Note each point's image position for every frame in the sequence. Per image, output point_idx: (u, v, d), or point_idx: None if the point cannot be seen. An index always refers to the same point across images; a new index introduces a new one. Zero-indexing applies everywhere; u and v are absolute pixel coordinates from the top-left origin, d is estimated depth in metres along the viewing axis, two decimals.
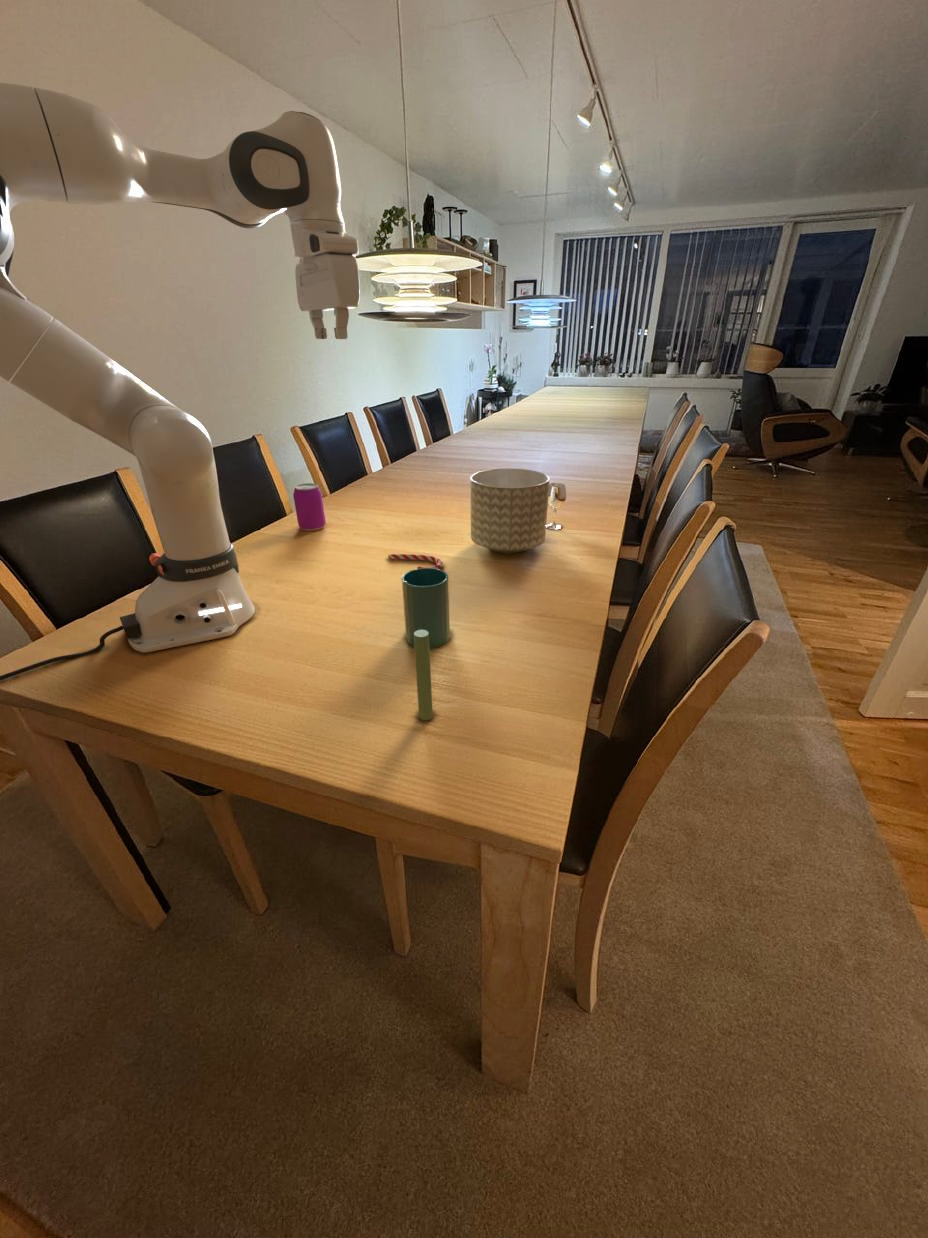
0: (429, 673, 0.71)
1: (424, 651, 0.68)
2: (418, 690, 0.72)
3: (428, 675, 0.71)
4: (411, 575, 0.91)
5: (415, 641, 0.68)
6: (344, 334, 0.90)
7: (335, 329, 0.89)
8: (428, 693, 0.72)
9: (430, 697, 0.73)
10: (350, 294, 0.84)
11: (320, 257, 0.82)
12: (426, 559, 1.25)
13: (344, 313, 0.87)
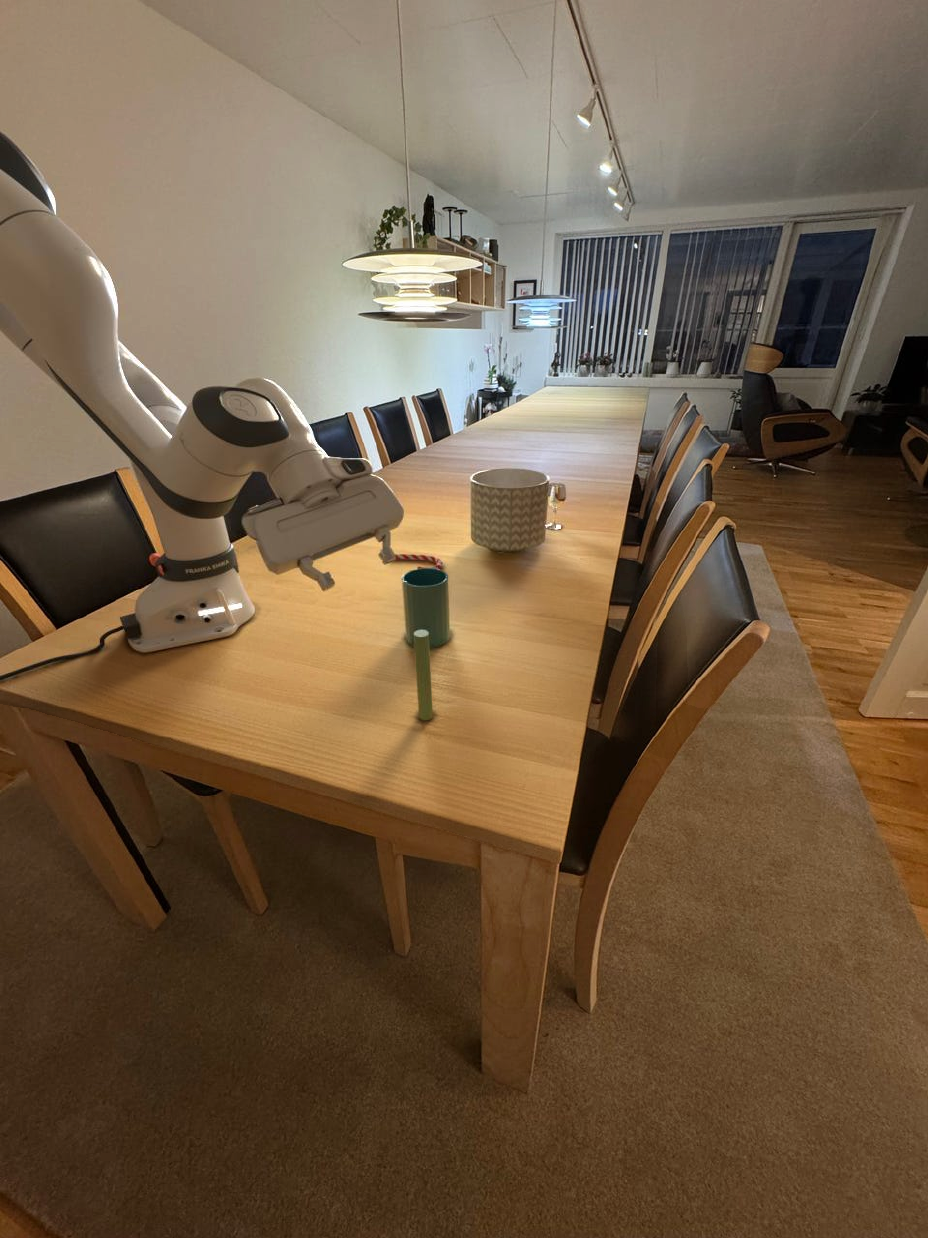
0: (429, 673, 0.71)
1: (424, 651, 0.68)
2: (418, 690, 0.72)
3: (428, 675, 0.71)
4: (411, 575, 0.91)
5: (415, 641, 0.68)
6: None
7: (386, 549, 0.70)
8: (428, 693, 0.72)
9: (430, 697, 0.73)
10: None
11: (361, 478, 0.71)
12: (426, 559, 1.25)
13: None
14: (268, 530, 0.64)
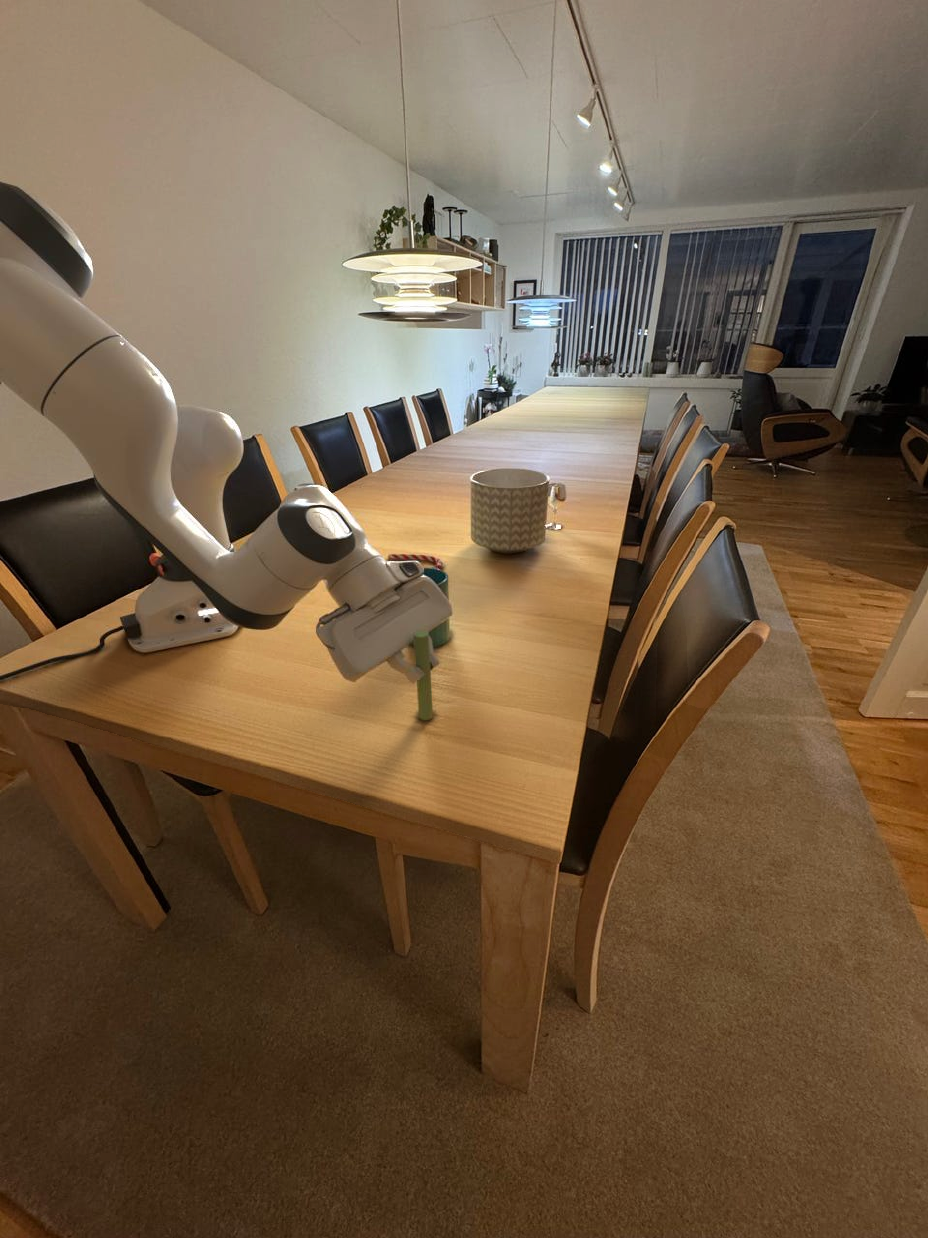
0: (429, 673, 0.71)
1: (424, 651, 0.68)
2: (418, 690, 0.72)
3: (428, 675, 0.71)
4: None
5: (415, 641, 0.68)
6: None
7: (431, 657, 0.71)
8: (428, 693, 0.72)
9: (430, 697, 0.73)
10: None
11: (416, 580, 0.73)
12: (426, 559, 1.25)
13: None
14: (348, 639, 0.64)
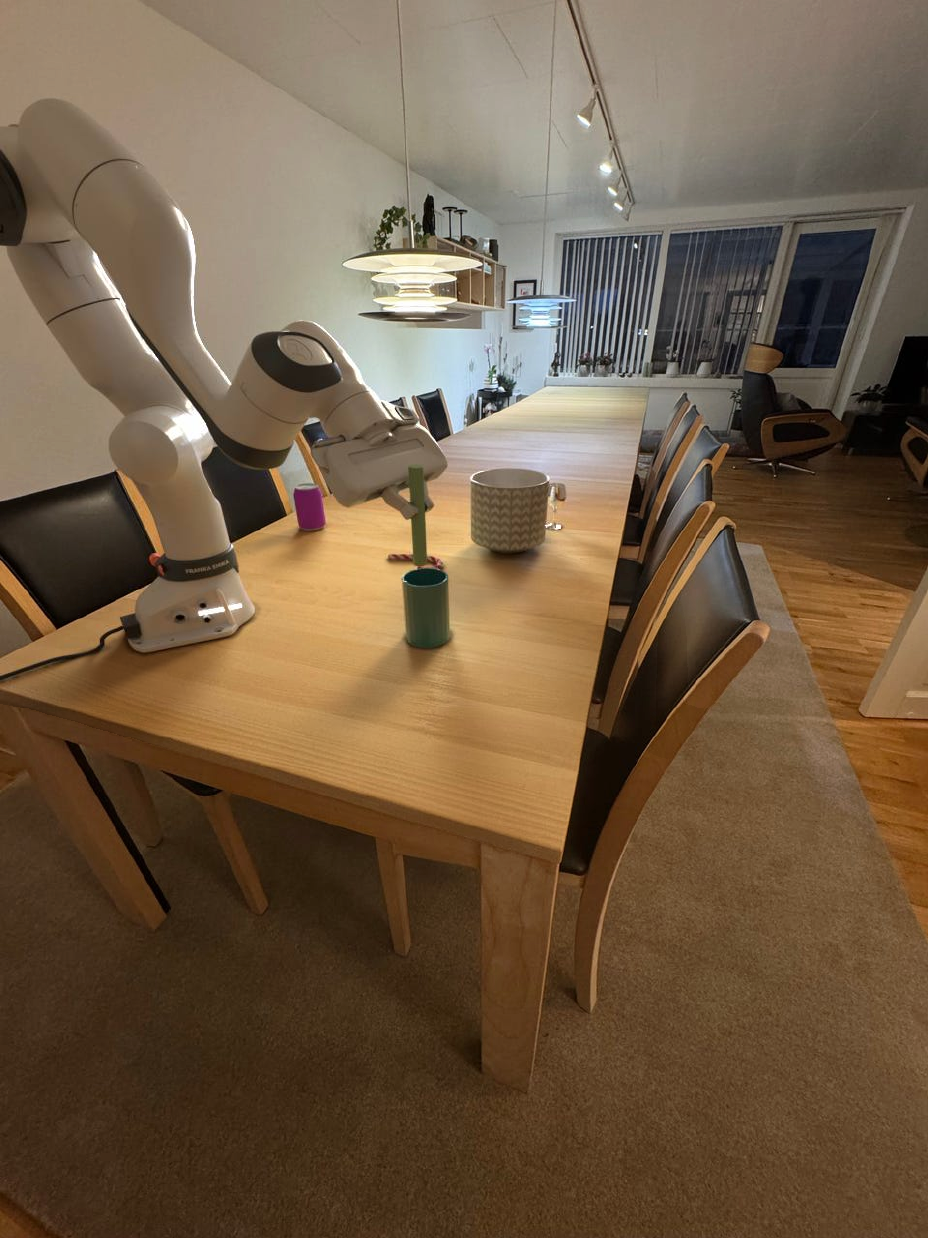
0: (424, 512, 0.71)
1: (419, 484, 0.69)
2: (413, 532, 0.72)
3: (423, 514, 0.71)
4: (411, 575, 0.91)
5: (410, 473, 0.68)
6: None
7: (425, 498, 0.72)
8: (422, 535, 0.72)
9: (425, 540, 0.73)
10: None
11: (411, 426, 0.74)
12: None
13: None
14: (342, 460, 0.64)
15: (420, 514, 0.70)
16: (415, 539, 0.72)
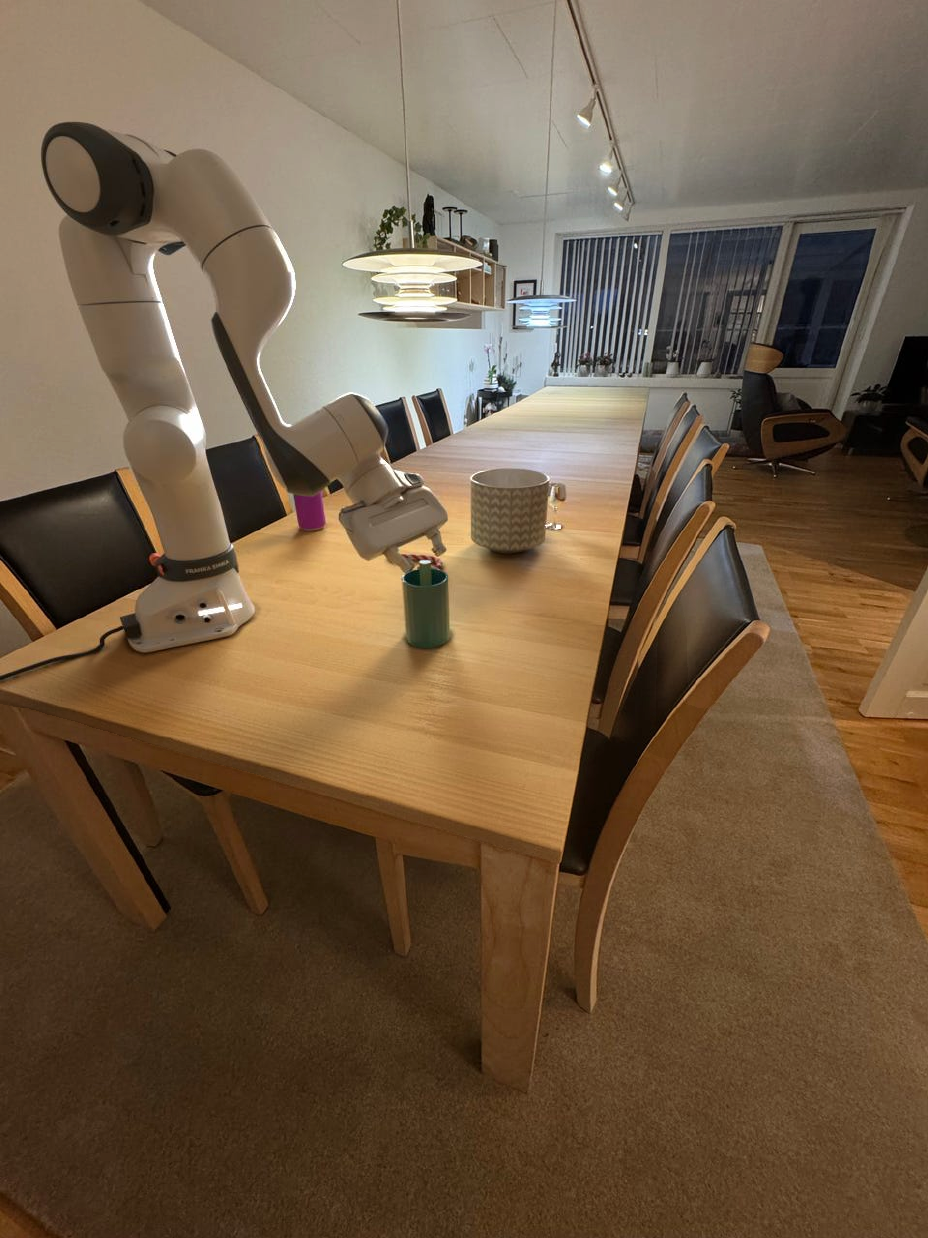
0: None
1: (427, 575, 0.88)
2: None
3: None
4: (411, 575, 0.91)
5: (420, 567, 0.88)
6: None
7: (439, 544, 0.89)
8: None
9: None
10: None
11: (418, 488, 0.90)
12: (426, 559, 1.25)
13: None
14: (364, 524, 0.80)
15: None
16: None
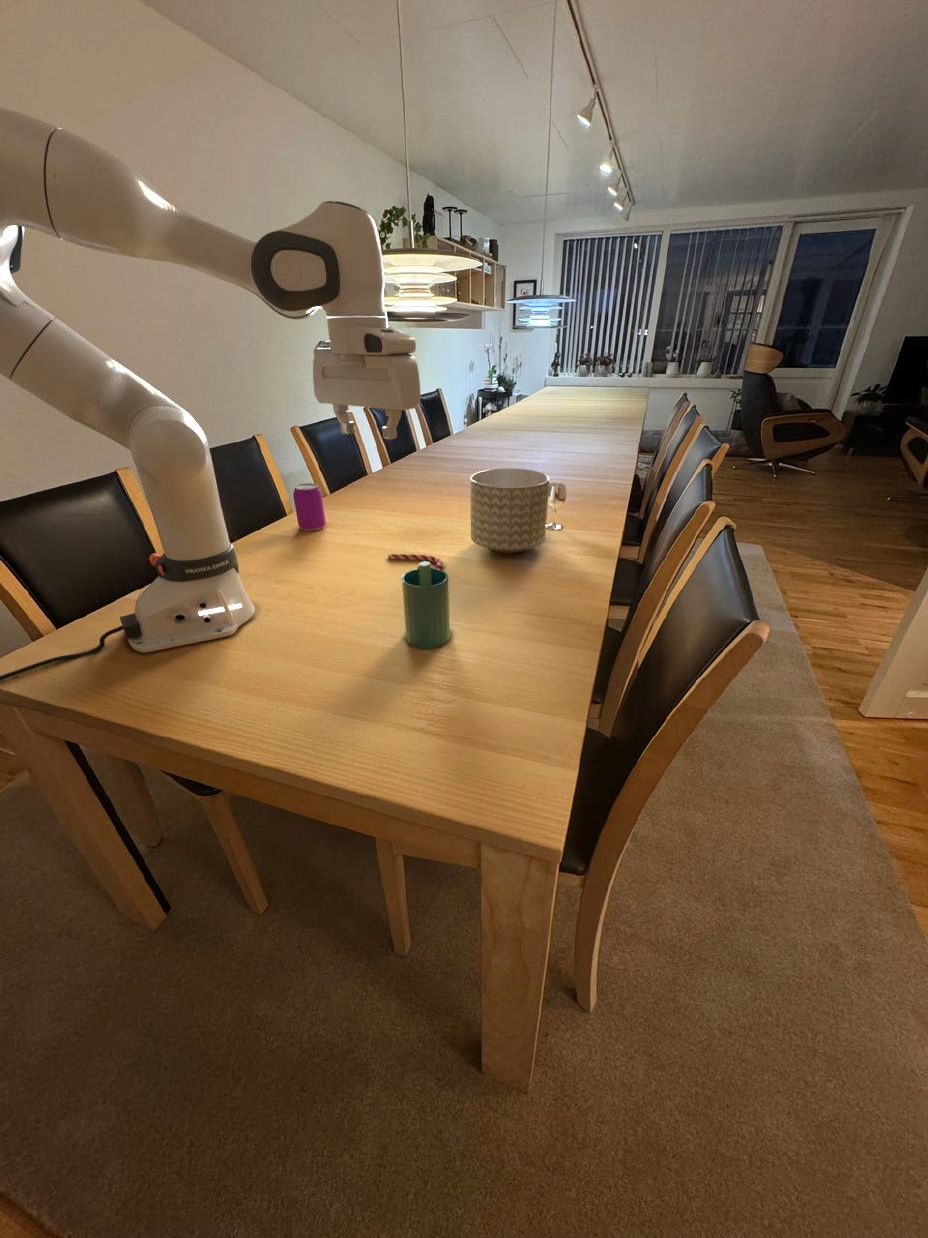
0: None
1: (427, 577, 0.88)
2: None
3: None
4: (411, 575, 0.91)
5: (420, 569, 0.87)
6: (394, 434, 0.81)
7: (385, 429, 0.81)
8: None
9: None
10: (413, 396, 0.76)
11: (378, 358, 0.74)
12: (426, 559, 1.25)
13: (398, 413, 0.79)
14: (317, 372, 0.83)
15: None
16: None
